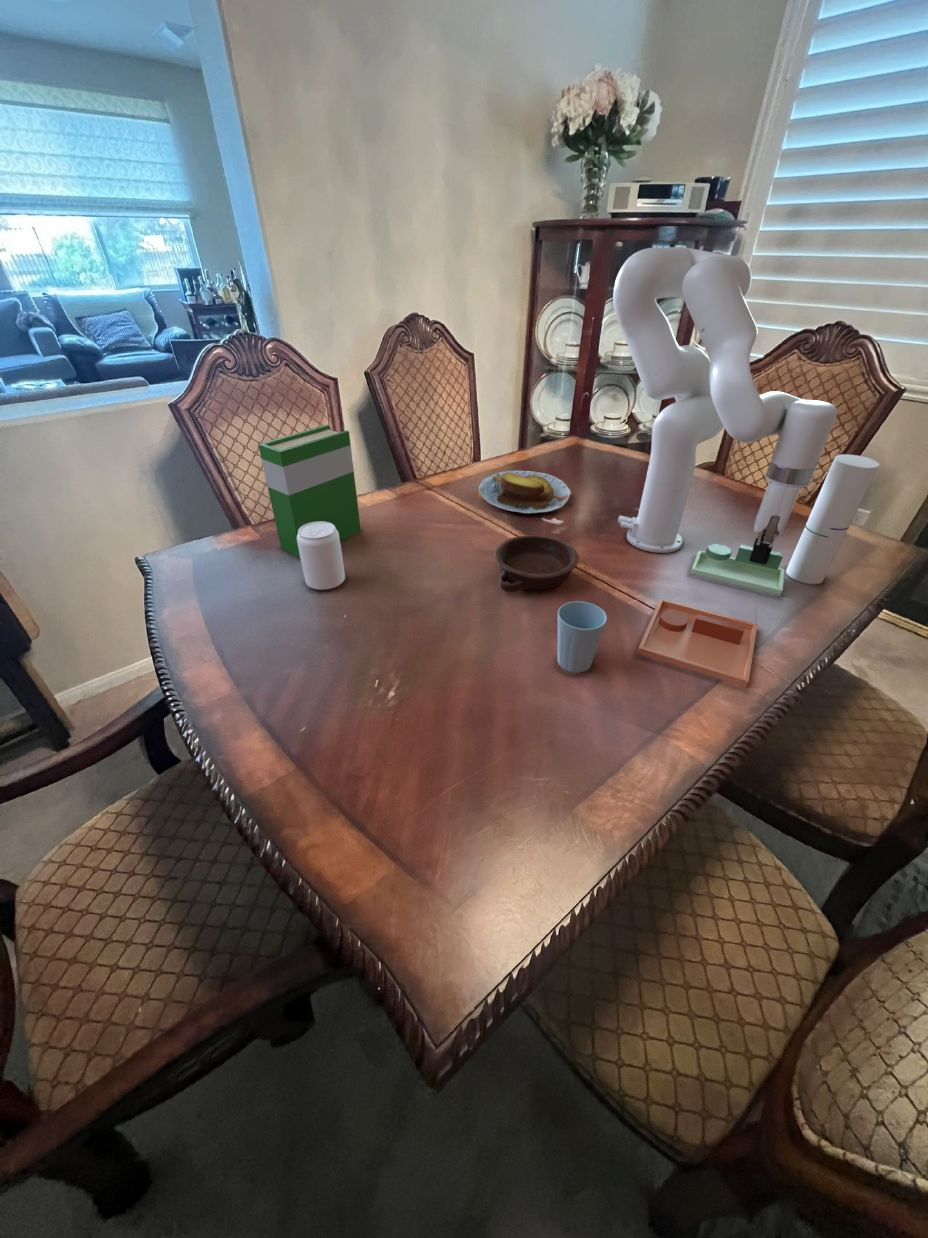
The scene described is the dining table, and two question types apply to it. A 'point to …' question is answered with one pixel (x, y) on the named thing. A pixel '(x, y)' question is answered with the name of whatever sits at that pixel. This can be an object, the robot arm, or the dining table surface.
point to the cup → (579, 634)
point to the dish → (534, 562)
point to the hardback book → (311, 483)
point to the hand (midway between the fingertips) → (758, 559)
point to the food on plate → (524, 491)
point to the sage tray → (739, 574)
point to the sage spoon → (742, 555)
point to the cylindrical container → (831, 517)
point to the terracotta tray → (700, 645)
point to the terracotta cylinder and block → (703, 626)
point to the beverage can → (321, 555)
